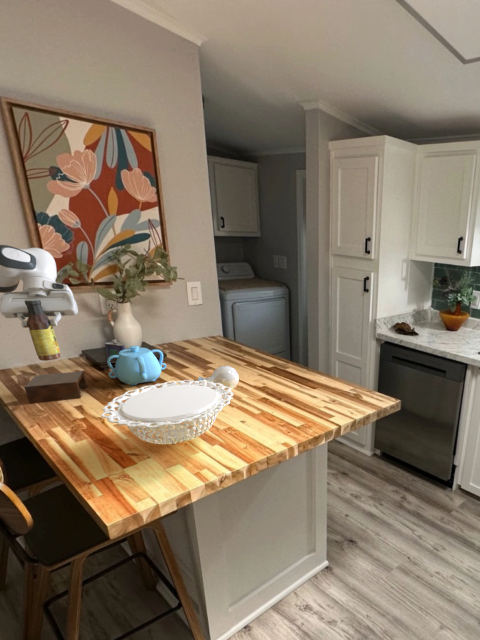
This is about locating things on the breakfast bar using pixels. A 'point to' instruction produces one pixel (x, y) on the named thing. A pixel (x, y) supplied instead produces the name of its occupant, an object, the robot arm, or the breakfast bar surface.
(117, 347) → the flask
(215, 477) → the breakfast bar surface
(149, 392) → the white lattice bowl
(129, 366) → the decorative pot
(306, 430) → the breakfast bar surface
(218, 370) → the potion bottle
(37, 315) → the sauce bottle
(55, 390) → the shelf
